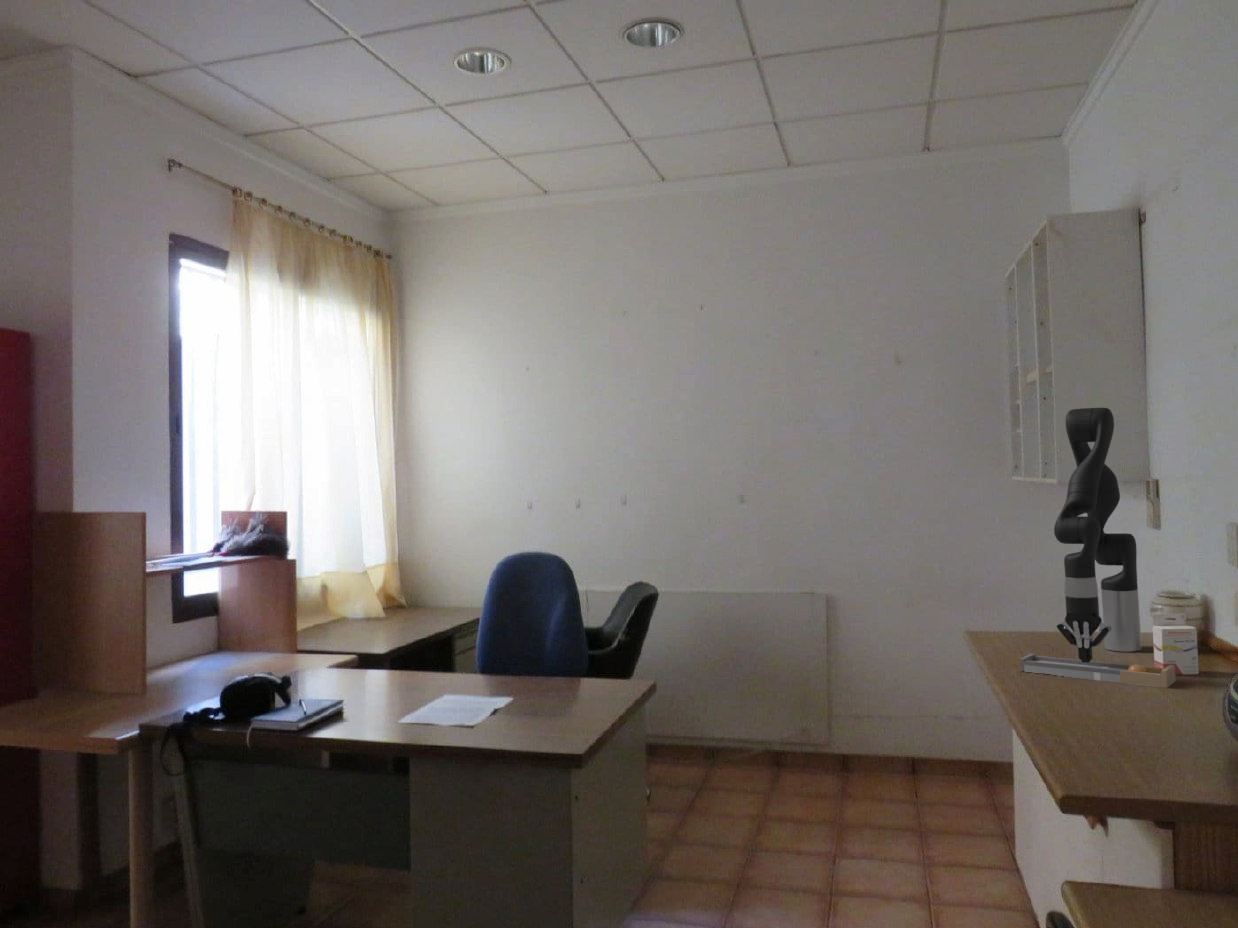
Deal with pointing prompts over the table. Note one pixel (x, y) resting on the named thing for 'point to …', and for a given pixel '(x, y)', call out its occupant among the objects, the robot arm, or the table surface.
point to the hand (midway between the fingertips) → (1085, 661)
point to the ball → (1137, 668)
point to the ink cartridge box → (1175, 643)
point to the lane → (1099, 671)
